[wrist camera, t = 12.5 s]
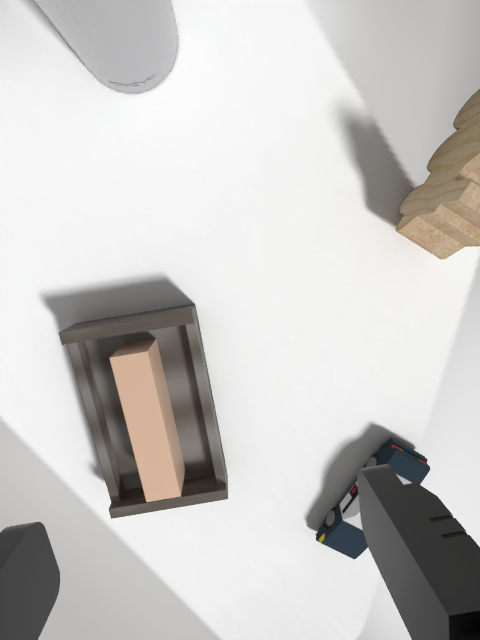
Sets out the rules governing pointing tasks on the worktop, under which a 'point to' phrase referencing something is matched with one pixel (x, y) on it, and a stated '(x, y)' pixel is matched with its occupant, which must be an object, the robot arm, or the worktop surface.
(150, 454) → the tan rectangular block
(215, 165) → the worktop surface
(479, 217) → the toy train
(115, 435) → the charcoal tray
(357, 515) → the toy car
